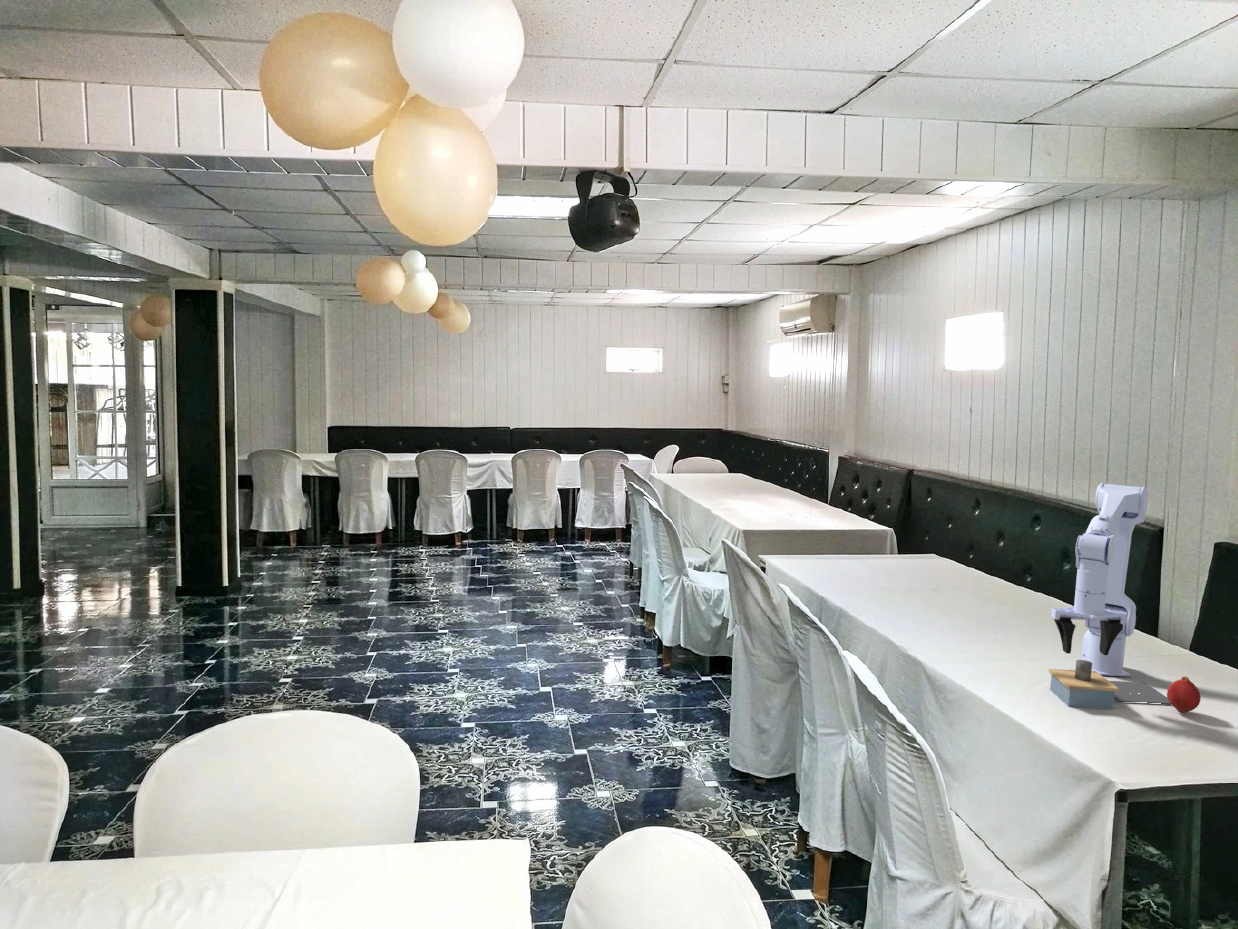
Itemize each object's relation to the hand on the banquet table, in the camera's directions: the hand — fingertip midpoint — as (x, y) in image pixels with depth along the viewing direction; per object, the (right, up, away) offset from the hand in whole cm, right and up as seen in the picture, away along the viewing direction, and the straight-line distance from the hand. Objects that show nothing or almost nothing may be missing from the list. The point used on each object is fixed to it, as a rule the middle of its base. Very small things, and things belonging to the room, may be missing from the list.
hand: (1085, 652), depth 181 cm
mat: (+13, -10, +5) cm, 17 cm away
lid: (0, -6, +1) cm, 6 cm away
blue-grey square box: (0, -10, +1) cm, 10 cm away
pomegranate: (+17, -12, -5) cm, 21 cm away
